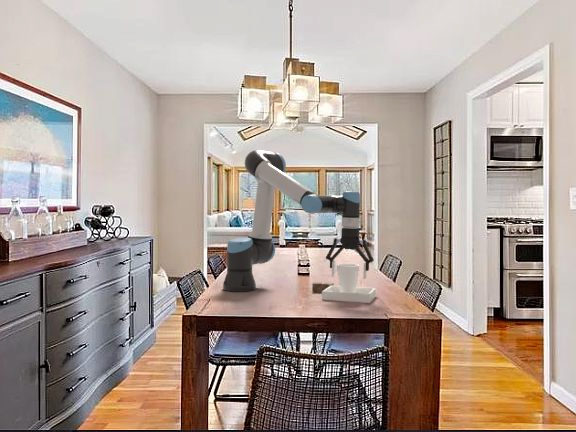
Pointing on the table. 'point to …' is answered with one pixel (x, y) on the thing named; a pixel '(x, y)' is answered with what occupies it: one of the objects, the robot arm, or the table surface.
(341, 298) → the tray
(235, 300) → the table surface
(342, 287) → the foam cup
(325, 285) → the walnut block
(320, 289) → the walnut block
